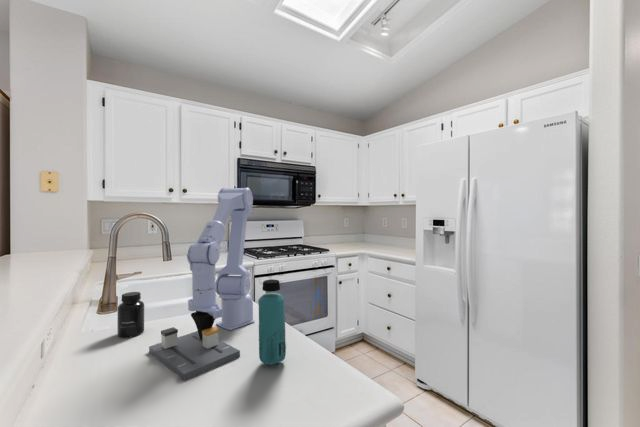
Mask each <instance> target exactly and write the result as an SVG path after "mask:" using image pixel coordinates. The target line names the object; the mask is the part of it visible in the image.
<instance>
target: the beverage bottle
mask: <svg viewBox="0 0 640 427" xmlns="http://www.w3.org/2000/svg"><path fill="white" fill-rule="evenodd" d="M280 284H281V282H280V279H266V280H264V281H263V282H262V288H261V289H262V291H263V292H267V293H263V294H262V295H261V296H260V297H259V298H258V300H257V302H258V357H259V361H260V363H263V364H266V365H276V364H280V363H282V362H283V361H284V360H285V358H286V355H287V353H286V352H287V346H286V331H287V330H286V310H285V308H286V307H285V306H286V304H285V301H286V300H285V297H284V296H283V295H282V294H281V293H278V291H279V290H281V286H280Z"/></svg>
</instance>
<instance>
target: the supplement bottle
mask: <svg viewBox="0 0 640 427" xmlns="http://www.w3.org/2000/svg"><path fill="white" fill-rule="evenodd" d="M141 298H142V296H141V292H140V291H131V292H130V291H129V292H126V293H123V294H121V300H120V301H121V303H120V304H119V305H118V306H117V321H116V322H117V326H116V327H117V328H116V329H117V336H118V337H119V338H124V339H127V338H129V339H130V338H134V337H138V336H139V335H142V333H144V331H145V303H144V301H142V300H141Z"/></svg>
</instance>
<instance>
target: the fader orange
mask: <svg viewBox="0 0 640 427" xmlns="http://www.w3.org/2000/svg"><path fill="white" fill-rule="evenodd" d="M202 334H203V346H204V347H205V348H207V349H208V348H211V347H213V346H216V345H218V339H219V328H216V327H214V326H212V327H211V328H208V329H205V330H202Z"/></svg>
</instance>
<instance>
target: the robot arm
mask: <svg viewBox="0 0 640 427" xmlns="http://www.w3.org/2000/svg"><path fill="white" fill-rule="evenodd" d="M217 203H218V204H217V205H218V206H217V208H216V211H215V214H214V216H213V219H212V220H211V221H208V222H206V223H205V226H204V228H203V230H202V232H201V234H200V235H199V237H198V240H196V242H194V243H193V244H191V245H190V246H189V247H188V250H187V254H186V260H187V262H188V264H189V270H190V271H191V273H192V274H191V277H192V278H191V280H192V284H191V285H192V298H191V299H188V300H187V301H188V302H187V303H188V308H187V309H188V311H189V312H192V313H190V317H191V318H192V320H193V322H194V324H195V326H196V329H197V330H196V331H198V334H199V337H200V340H202V341H203V334H202V330H205V329H208V328H211V327H214V323H215V321H216V319H219V318H221V321H217V322H216V323H215V325H217V326H220V327H221V328H223V329H225V330H227V331H231V330H232V331H233V330H235V329H237V328H241V327H244V326H248V325H249V324H252V323H255V320H254V310H253V309H254V303H253V297H252V296H251V295H250V294H249V293H250V290H251V276H250V275H251V274H250V271H249V270H247V268H245V267H244V265H243V260H244V254H245V253H244V252H245V243H246V242H245V240H246V231H247V224H248V223H247V222H248V221H247V220H248V216H251V214H252V210H253V205H254V196H253V193H252V190H251V189H250V187H238V188H237V187H235V188H234V187H232V188H229V187H227V188H226V187H222V188H220V189H219V191H218V194H217ZM230 217H231V224H230V233H229V238H228V248H227V257H226V265H225V266H224V267H223V268H221V269H220V270H219V271H218V273H217V278H216V265H217V263H218V261H219V259H220V256H221V255H220V253H221V249H222V248H221V243H222V241H223V239H224V237H225V234H226V232H227V229H226V227H225V225H226V224H227V222H228V220H229V218H230ZM217 295H218V298H220V302H221V307H220V306H219V305H218V303H217V298H216V296H217Z"/></svg>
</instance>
